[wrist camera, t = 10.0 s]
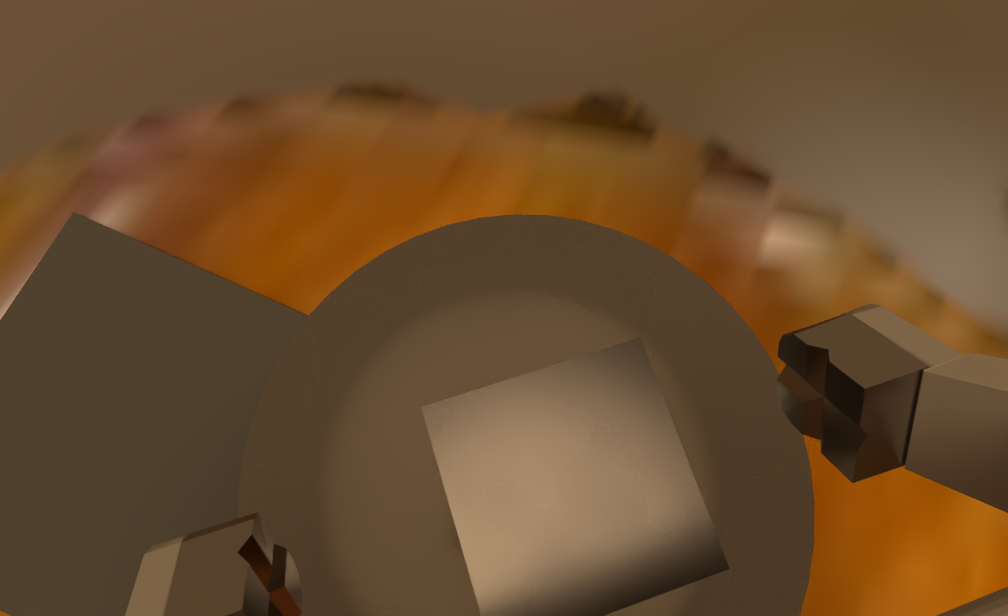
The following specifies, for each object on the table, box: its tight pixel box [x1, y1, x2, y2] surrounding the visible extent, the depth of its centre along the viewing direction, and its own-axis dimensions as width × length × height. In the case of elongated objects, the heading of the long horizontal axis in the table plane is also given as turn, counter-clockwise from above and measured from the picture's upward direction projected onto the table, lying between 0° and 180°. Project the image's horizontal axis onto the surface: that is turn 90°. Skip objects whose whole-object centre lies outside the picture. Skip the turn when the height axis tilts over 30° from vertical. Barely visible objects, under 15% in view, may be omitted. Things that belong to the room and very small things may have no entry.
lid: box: [238, 215, 814, 616], centre depth 12 cm, size 14×14×8 cm
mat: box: [0, 212, 309, 616], centre depth 27 cm, size 16×16×1 cm
